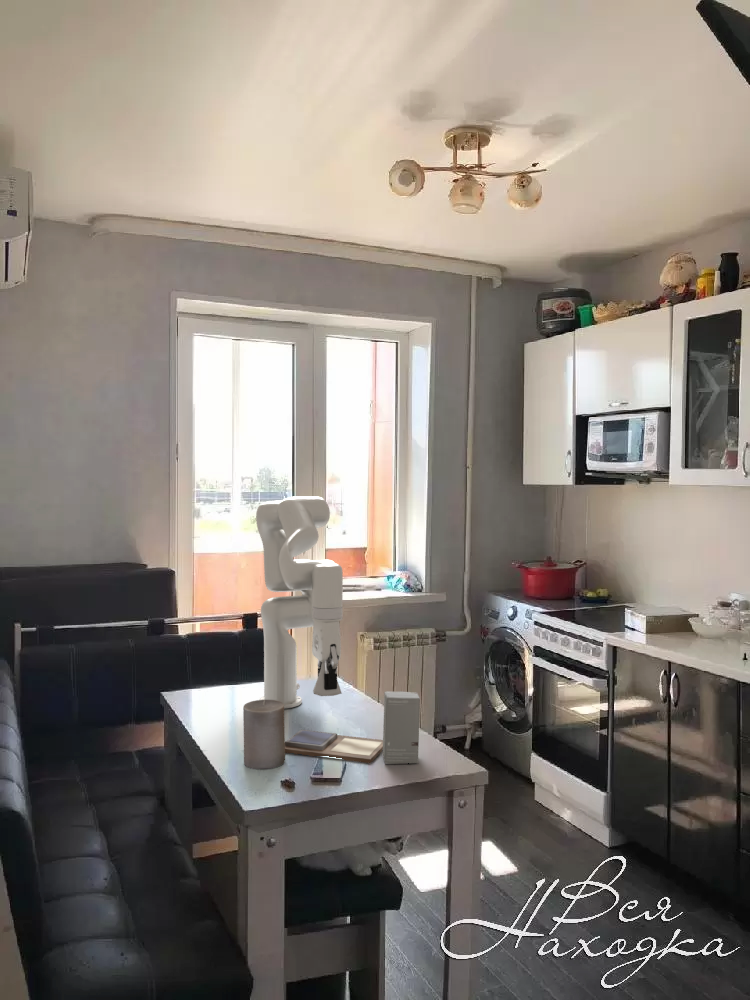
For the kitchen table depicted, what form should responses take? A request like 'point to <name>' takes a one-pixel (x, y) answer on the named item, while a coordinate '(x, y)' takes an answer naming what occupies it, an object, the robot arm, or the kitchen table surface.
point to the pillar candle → (264, 734)
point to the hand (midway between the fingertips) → (327, 685)
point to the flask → (320, 684)
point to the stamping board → (334, 746)
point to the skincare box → (401, 727)
